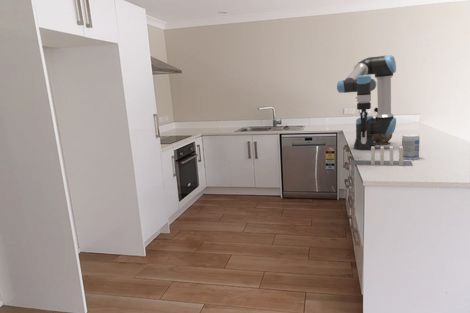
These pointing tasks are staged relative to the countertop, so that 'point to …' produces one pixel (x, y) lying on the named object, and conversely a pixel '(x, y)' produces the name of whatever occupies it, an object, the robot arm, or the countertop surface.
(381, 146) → the domino
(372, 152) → the domino
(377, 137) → the ceramic jug
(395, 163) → the mat
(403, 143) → the supplement tub
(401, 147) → the domino
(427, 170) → the countertop surface
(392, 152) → the domino
